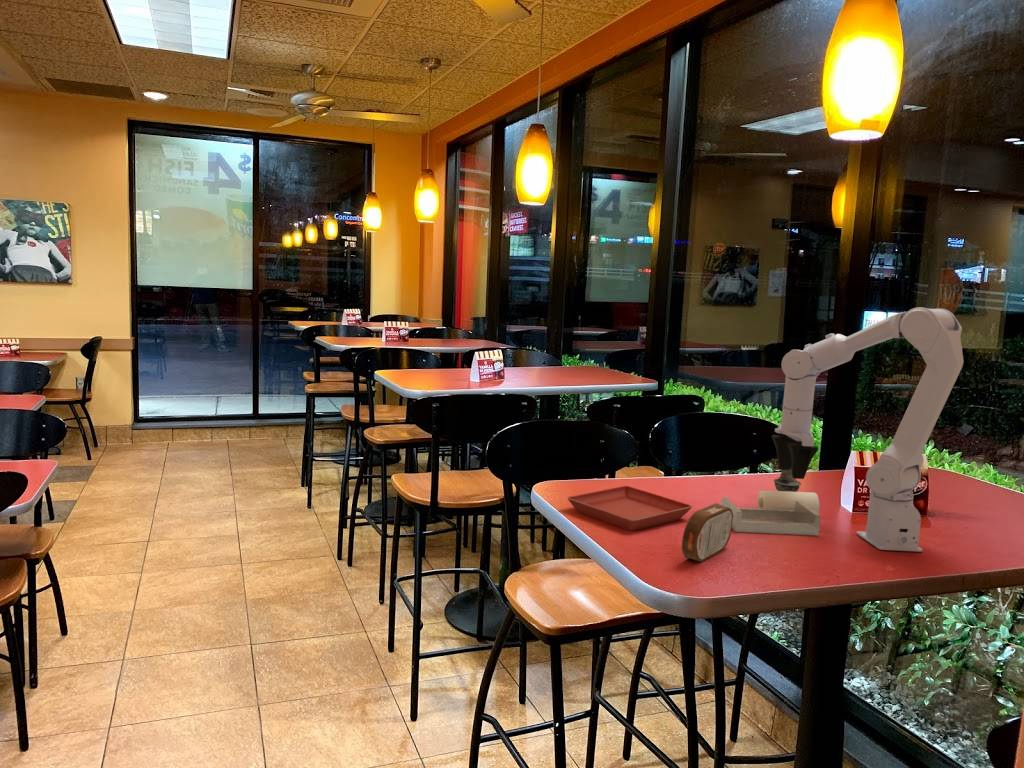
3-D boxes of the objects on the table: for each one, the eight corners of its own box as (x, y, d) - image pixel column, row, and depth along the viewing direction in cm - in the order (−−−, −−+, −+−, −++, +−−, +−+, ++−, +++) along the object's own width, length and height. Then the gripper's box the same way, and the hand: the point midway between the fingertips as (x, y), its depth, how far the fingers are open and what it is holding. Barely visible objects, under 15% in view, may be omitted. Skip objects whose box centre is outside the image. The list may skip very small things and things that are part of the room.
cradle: (818, 535, 146) (820, 515, 145) (734, 531, 146) (736, 511, 145) (798, 519, 156) (800, 500, 155) (720, 516, 156) (721, 497, 155)
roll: (820, 519, 157) (821, 494, 157) (763, 516, 157) (765, 492, 157) (810, 514, 162) (811, 490, 162) (755, 512, 162) (756, 488, 162)
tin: (717, 543, 138) (721, 498, 137) (733, 547, 136) (737, 501, 135) (678, 563, 127) (682, 514, 126) (695, 568, 125) (700, 518, 124)
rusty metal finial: (795, 494, 176) (800, 443, 175) (802, 501, 170) (808, 448, 169) (769, 492, 177) (774, 441, 175) (775, 499, 171) (780, 446, 170)
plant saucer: (632, 537, 141) (633, 519, 140) (564, 512, 154) (565, 496, 154) (693, 522, 152) (694, 505, 152) (625, 500, 166) (626, 485, 166)
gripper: (766, 402, 164) (760, 464, 165) (791, 413, 149) (784, 481, 151) (798, 404, 164) (792, 466, 165) (827, 415, 149) (820, 483, 151)
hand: (791, 473), depth 158 cm, fingers open, 7 cm apart
